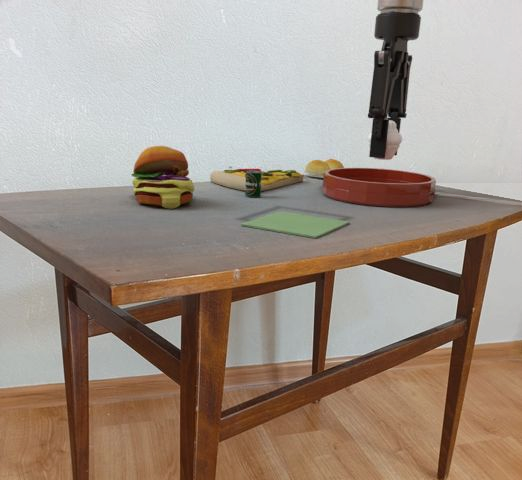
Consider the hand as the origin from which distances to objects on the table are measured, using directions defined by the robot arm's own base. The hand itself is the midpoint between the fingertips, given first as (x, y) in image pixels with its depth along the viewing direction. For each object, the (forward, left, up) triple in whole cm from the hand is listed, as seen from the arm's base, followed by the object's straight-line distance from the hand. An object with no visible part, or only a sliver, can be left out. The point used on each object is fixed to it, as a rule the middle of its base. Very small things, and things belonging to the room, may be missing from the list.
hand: (383, 155), depth 109 cm
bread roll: (+18, -16, -8) cm, 26 cm away
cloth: (+1, +32, -8) cm, 33 cm away
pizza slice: (+23, +2, -8) cm, 25 cm away
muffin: (0, 0, -1) cm, 1 cm away
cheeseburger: (+26, +32, -8) cm, 42 cm away
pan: (0, 0, -8) cm, 8 cm away
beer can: (+18, +16, -8) cm, 26 cm away
